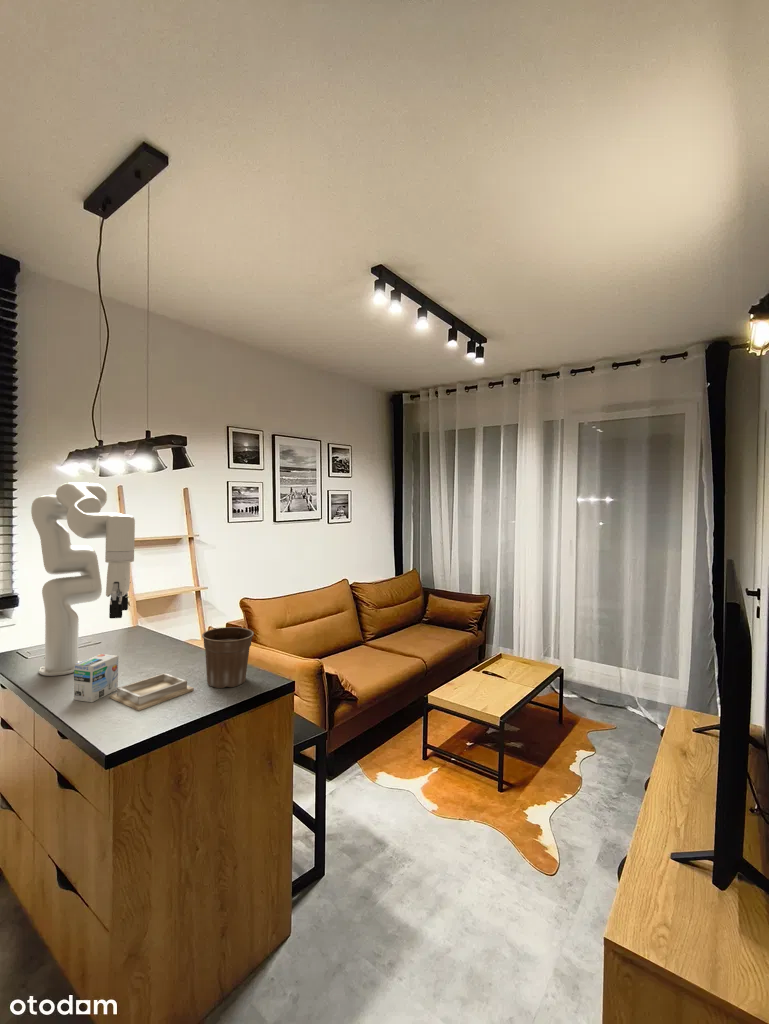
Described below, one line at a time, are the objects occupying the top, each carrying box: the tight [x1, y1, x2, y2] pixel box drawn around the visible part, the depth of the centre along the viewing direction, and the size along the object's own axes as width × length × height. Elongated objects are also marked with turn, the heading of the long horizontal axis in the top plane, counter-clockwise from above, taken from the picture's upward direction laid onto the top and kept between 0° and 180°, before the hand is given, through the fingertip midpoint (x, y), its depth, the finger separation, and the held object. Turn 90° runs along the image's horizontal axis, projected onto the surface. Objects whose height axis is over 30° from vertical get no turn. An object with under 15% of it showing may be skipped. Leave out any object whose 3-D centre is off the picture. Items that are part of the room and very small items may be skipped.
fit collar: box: [109, 672, 195, 711], centre depth 149 cm, size 15×18×3 cm
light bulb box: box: [73, 653, 119, 703], centre depth 147 cm, size 11×7×11 cm, turn 168°
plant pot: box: [201, 626, 254, 689], centre depth 161 cm, size 16×16×16 cm
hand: (118, 614), depth 144 cm, fingers open, 9 cm apart
